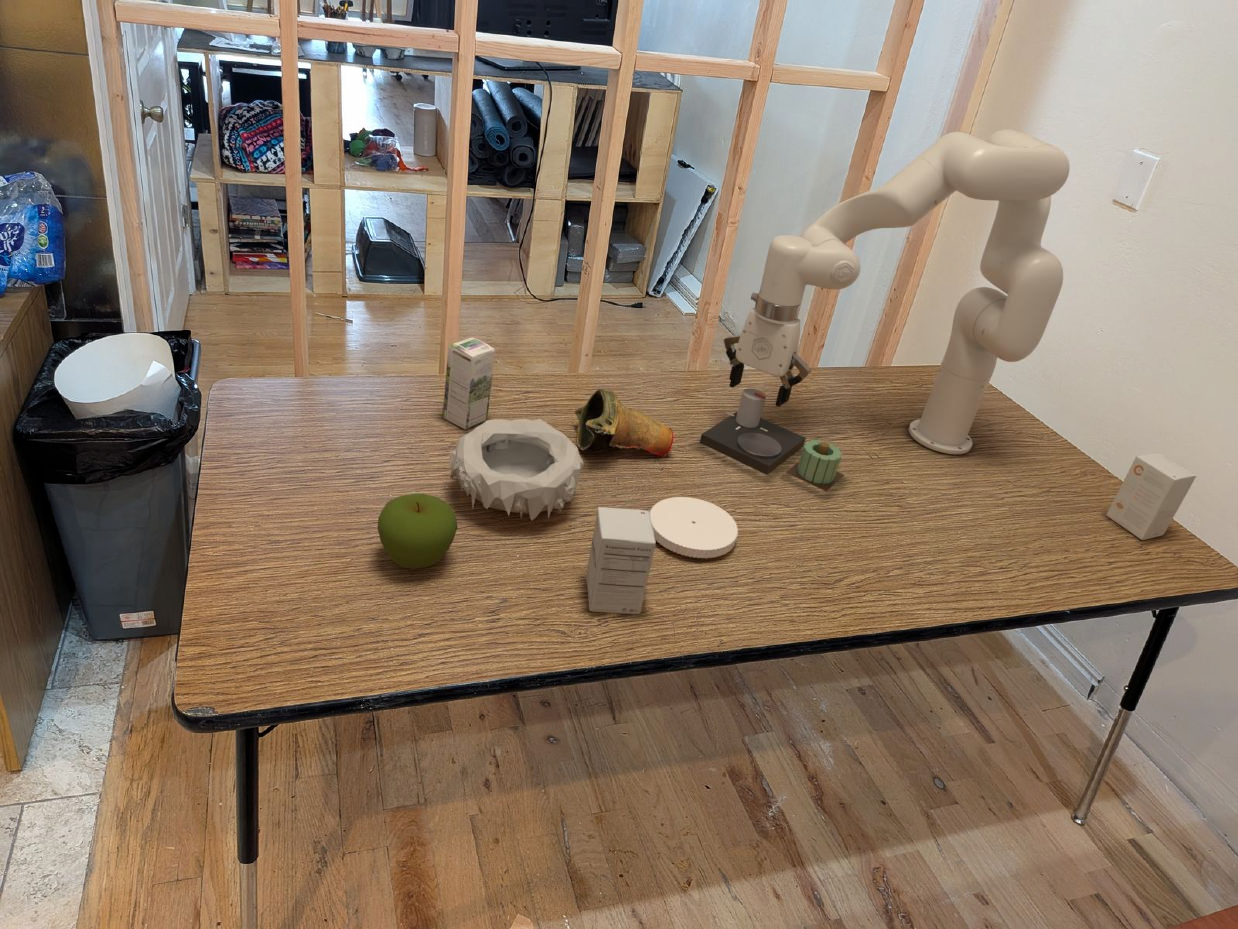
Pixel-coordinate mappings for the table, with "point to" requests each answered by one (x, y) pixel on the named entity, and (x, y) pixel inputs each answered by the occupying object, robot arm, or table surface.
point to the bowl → (517, 466)
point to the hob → (729, 431)
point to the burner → (759, 445)
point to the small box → (1150, 495)
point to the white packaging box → (620, 560)
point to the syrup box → (468, 382)
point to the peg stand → (821, 450)
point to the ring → (819, 463)
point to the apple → (416, 529)
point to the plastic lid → (693, 527)
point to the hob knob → (750, 408)
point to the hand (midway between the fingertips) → (757, 394)
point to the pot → (619, 427)
